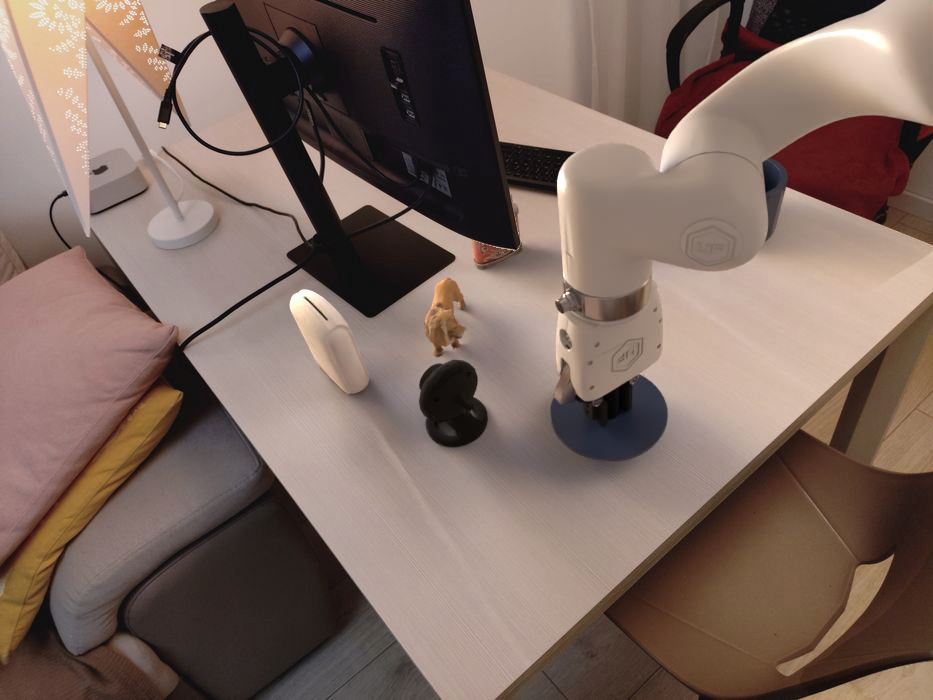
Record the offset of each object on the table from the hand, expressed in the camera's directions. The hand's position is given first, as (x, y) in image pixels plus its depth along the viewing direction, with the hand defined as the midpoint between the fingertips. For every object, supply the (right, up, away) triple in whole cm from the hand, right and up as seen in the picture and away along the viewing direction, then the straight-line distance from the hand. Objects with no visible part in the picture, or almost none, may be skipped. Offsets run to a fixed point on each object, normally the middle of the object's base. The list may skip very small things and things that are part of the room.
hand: (607, 409), depth 69 cm
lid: (0, -1, 0) cm, 1 cm away
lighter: (-11, +21, +27) cm, 35 cm away
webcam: (-16, -3, +7) cm, 18 cm away
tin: (+24, +25, +24) cm, 42 cm away
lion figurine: (-17, +8, +17) cm, 26 cm away
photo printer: (-32, +4, +16) cm, 36 cm away
